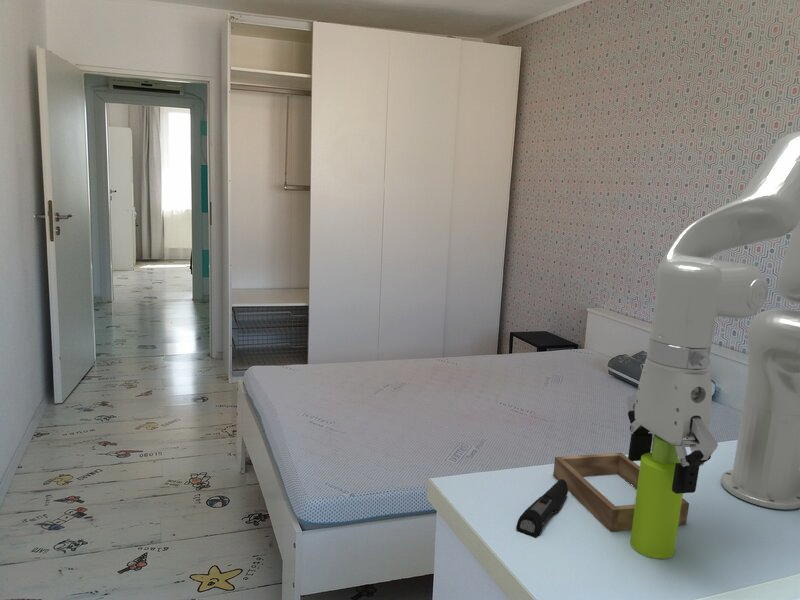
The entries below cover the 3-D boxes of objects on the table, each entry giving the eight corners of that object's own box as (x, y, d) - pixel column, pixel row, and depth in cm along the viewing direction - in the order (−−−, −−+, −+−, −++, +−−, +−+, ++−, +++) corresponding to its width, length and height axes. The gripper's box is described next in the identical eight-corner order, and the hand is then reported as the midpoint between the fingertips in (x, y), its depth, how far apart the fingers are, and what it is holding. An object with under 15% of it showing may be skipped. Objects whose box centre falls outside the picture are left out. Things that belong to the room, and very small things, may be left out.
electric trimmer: (573, 499, 104) (575, 481, 103) (537, 540, 91) (539, 520, 90) (551, 492, 106) (552, 475, 105) (513, 532, 93) (515, 512, 92)
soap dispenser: (629, 556, 88) (647, 420, 84) (630, 531, 94) (646, 403, 90) (675, 567, 86) (696, 427, 82) (673, 541, 92) (691, 410, 88)
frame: (619, 470, 114) (621, 452, 113) (686, 524, 97) (689, 503, 96) (553, 475, 111) (555, 457, 110) (610, 531, 94) (613, 510, 93)
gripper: (751, 374, 77) (728, 504, 80) (661, 339, 93) (645, 448, 96) (698, 374, 75) (677, 508, 78) (616, 338, 92) (601, 450, 95)
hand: (659, 475), depth 87 cm, fingers open, 9 cm apart
